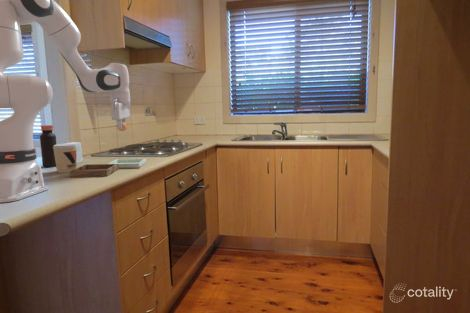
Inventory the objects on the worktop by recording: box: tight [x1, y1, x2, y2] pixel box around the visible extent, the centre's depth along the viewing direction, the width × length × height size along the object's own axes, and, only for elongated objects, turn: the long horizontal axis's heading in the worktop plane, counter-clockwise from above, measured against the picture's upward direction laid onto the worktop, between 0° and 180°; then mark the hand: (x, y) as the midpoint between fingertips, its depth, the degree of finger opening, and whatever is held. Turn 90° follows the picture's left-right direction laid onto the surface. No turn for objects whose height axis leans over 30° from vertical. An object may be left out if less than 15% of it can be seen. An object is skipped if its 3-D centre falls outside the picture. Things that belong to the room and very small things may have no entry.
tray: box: [107, 158, 147, 170], centre depth 161 cm, size 15×15×2 cm
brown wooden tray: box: [69, 163, 119, 178], centre depth 144 cm, size 16×15×2 cm
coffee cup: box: [53, 143, 77, 174], centre depth 148 cm, size 9×9×12 cm
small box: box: [64, 141, 84, 164], centre depth 171 cm, size 8×6×10 cm
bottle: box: [39, 124, 57, 168], centre depth 161 cm, size 7×7×20 cm
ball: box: [116, 122, 128, 132], centre depth 158 cm, size 4×4×4 cm
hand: (121, 128), depth 158 cm, fingers closed on ball, 4 cm apart
